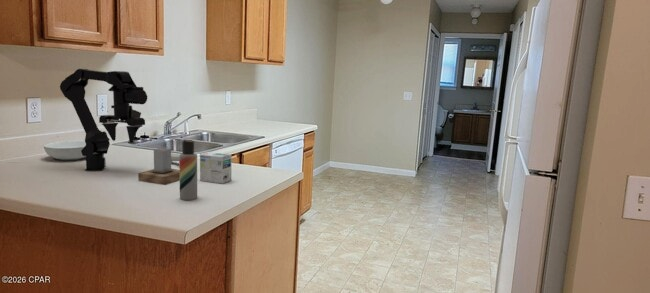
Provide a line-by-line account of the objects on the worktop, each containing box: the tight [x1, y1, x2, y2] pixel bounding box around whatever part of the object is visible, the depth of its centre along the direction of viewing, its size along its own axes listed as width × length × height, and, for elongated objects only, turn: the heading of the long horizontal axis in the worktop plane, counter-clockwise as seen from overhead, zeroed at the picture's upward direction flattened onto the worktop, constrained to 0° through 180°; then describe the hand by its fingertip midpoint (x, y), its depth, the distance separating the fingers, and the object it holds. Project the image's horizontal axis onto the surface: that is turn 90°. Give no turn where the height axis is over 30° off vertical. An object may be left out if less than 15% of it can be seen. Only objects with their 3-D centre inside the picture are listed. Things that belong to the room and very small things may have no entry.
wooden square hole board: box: [137, 168, 180, 186], centre depth 172 cm, size 12×12×3 cm
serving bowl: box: [43, 140, 86, 161], centre depth 203 cm, size 21×21×7 cm
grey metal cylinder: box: [171, 152, 181, 162], centre depth 201 cm, size 5×7×25 cm
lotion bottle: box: [178, 139, 198, 201], centre depth 147 cm, size 6×6×20 cm
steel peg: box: [153, 147, 172, 174], centre depth 171 cm, size 4×4×12 cm
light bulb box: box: [199, 151, 232, 184], centre depth 173 cm, size 11×7×11 cm, turn 71°
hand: (122, 141), depth 178 cm, fingers open, 9 cm apart
